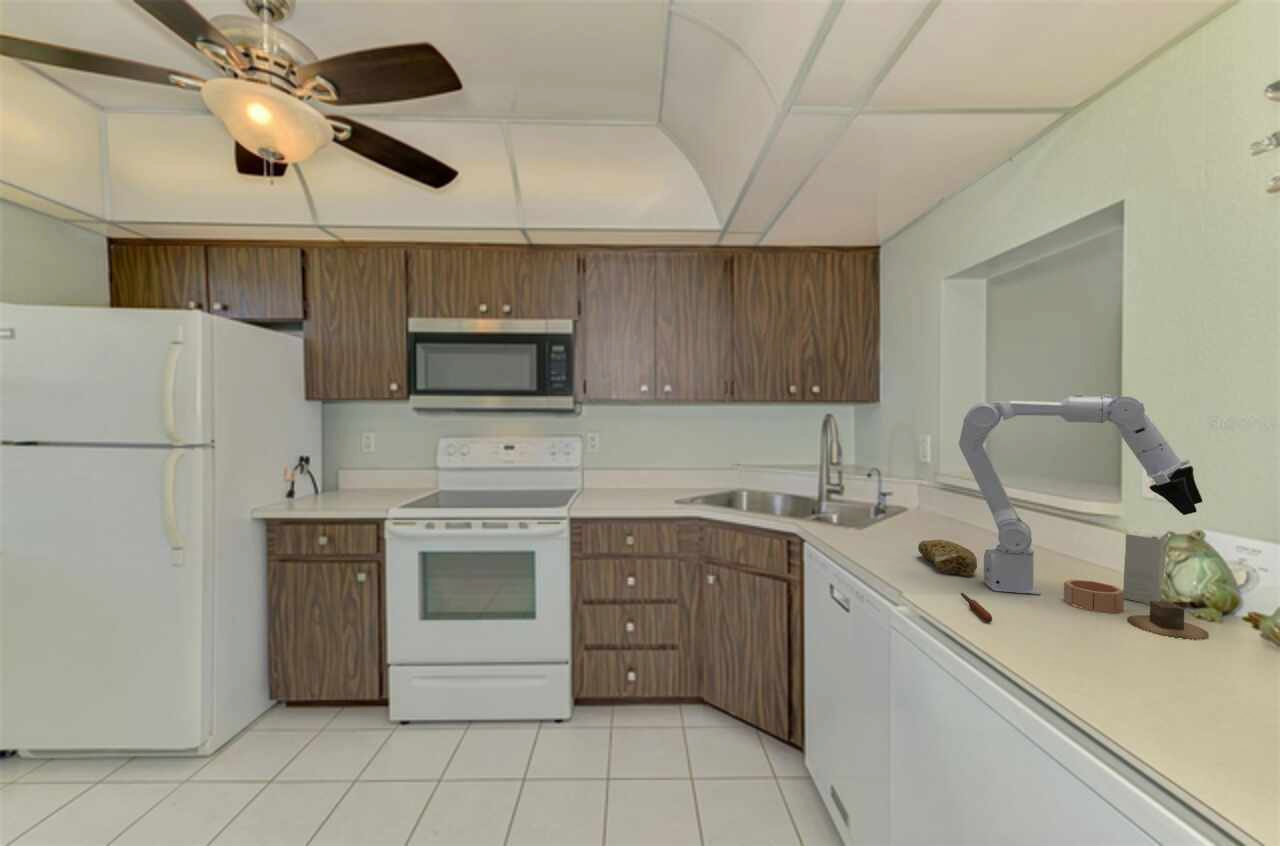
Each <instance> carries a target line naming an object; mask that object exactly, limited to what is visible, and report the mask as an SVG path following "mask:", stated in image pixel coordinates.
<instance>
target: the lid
mask: <svg viewBox="0 0 1280 846" xmlns="http://www.w3.org/2000/svg"><path fill="white" fill-rule="evenodd" d="M1126 622H1127V623H1128V624H1129V623H1130V624H1131V625H1130V624H1129V625H1130V626H1132V625H1133V626H1132V627H1134V626H1135V627H1134V628H1136V627H1137V628H1136V629H1138V628H1139V630H1141V629H1142V630H1141V631H1144V630H1145V631H1144V632H1147V631H1148V632H1147V633H1150V632H1151V634H1154V635H1157V634H1158V636H1162V637H1166V636H1168V637H1167V638H1171V637H1174V638H1173V639H1178V638H1182V639H1181V640H1186V639H1190V640H1189V641H1200V640H1199V639H1204V640H1206V639H1205V638H1207V639H1209V637H1210V634H1209V632H1208V631H1207V630H1206V629H1204V628H1202V627H1199V626H1198V625H1194V624H1192V623H1189V622H1185V608H1184V607H1181V606H1179V605H1177V604H1176V603H1173V602H1167V601H1166V602H1165V601H1161V602H1157V601H1150V604H1149V615H1147V614H1134V615H1133V614H1132V615H1128V616H1127V619H1126ZM1208 636H1209V637H1208ZM1192 639H1193V640H1192ZM1197 639H1198V640H1197Z"/></svg>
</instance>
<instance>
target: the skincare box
mask: <svg viewBox="0 0 1280 846" xmlns="http://www.w3.org/2000/svg"><path fill="white" fill-rule="evenodd" d="M1165 543H1166V544H1167V533H1166V532H1161V531H1155V530H1146V529H1141V528H1132V529H1130V530H1129V531H1128V532H1127V533H1126V534H1125V550H1124V551H1125V552H1124V553H1125V554H1124V567H1123V568H1124V569H1123V570H1124V571H1123V587H1122V590H1123V591H1124V600H1127V599H1129V601H1132V600H1134V601H1133V602H1137V601H1140V602H1139V603H1141V602H1144V603H1143V604H1146V603H1148V604H1147V605H1150V601H1157V602H1162V600H1163V598H1164V597H1162V593H1161V591H1160V590H1161V589H1160V587H1161V583H1162V578H1163V576H1164V569H1165V570H1166V558H1167V557H1166V555H1167V553H1166V554H1165V552H1164V545H1165Z"/></svg>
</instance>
